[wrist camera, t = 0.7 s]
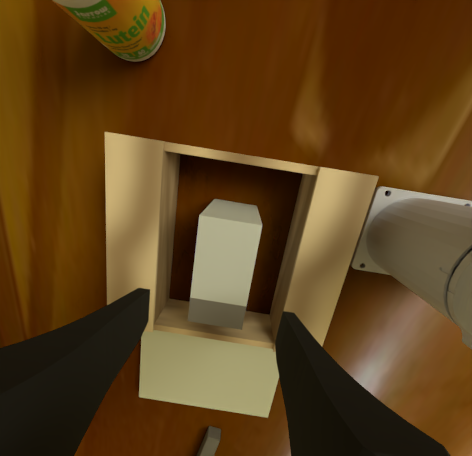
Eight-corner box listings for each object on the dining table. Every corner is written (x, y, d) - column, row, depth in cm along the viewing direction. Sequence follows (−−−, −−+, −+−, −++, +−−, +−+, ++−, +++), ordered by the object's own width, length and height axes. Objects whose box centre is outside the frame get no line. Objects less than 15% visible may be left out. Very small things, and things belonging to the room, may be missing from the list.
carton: (350, 174, 19) (378, 176, 15) (305, 325, 24) (318, 358, 20) (135, 139, 19) (104, 131, 15) (131, 297, 24) (107, 325, 20)
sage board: (288, 333, 24) (289, 338, 23) (267, 410, 27) (267, 417, 27) (145, 310, 24) (142, 315, 23) (141, 390, 27) (138, 397, 27)
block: (256, 205, 20) (262, 225, 14) (242, 280, 23) (241, 329, 16) (214, 198, 20) (199, 215, 14) (204, 274, 23) (187, 321, 16)
